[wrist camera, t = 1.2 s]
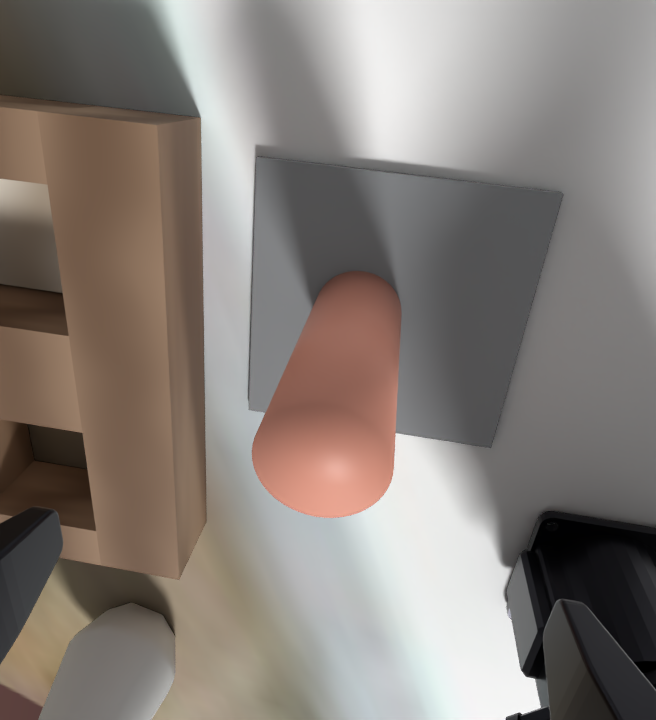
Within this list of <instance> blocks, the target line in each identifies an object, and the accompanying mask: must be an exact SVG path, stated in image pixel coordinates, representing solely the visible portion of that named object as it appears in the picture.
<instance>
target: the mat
mask: <svg viewBox="0 0 656 720" xmlns="http://www.w3.org/2000/svg"><path fill="white" fill-rule="evenodd" d="M562 197H563V193H561V192H555V191H546V190H538V189H529V188H521V187H513V186H504V185H496V184H487V183H479V182H470V181H462V180H454V179H445V178H437V177H428V176H420V175H411V174H403V173H395V172H386V171H378V170H369V169H361V168H352V167H344V166H336V165H327V164H319V163H310V162H302V161H294V160H285V159H277V158H268V157H260V156H258V157H256V184H255V218H254V251H253V284H252V317H251V350H250V383H249V410H252V411H259V412H265V413H266V411H267V409H268V406H269V404H270V402H271V400H272V397H273V395H274V393H275V391H276V388H277V386H278V384H279V382H280V379H281V377H282V375H283V373H284V371H285V368H286V366H287V364H288V362H289V359H290V357H291V355H292V353H293V350H294V348H295V346H296V344H297V341H298V339H299V337H300V335H301V332H302V330H303V328H304V326H305V323H306V321H307V319H308V317H309V314H310V312H311V310H312V308H313V306H314V303H315V301H316V299H317V297H318V294H319V292H320V291H321V289H322V288H323V286H324V285H325V284H326V283H327V282H328V281H329V280H330V279H332V278H334V277H335V276H337V275H339V274H342V273H345V272H350V271H364V272H369V273H372V274H375V275H377V276H379V277H381V278H382V279H384V280H385V281H386V282H388V283H389V284H390V285H391V286H392V288H393V289H394V290H395V292H396V294H397V296H398V298H399V300H400V304H401V312H402V315H401V334H400V354H399V373H398V392H397V412H396V431H395V433H399V434H405V435H412V436H418V437H424V438H431V439H437V440H444V441H450V442H456V443H463V444H469V445H475V446H482V447H488V448H491V446H492V442H493V439H494V435H495V432H496V428H497V425H498V421H499V418H500V414H501V411H502V407H503V404H504V400H505V397H506V393H507V390H508V386H509V383H510V379H511V376H512V372H513V369H514V365H515V362H516V358H517V355H518V351H519V348H520V344H521V341H522V337H523V334H524V330H525V327H526V323H527V320H528V316H529V313H530V309H531V306H532V302H533V299H534V295H535V292H536V288H537V285H538V281H539V278H540V274H541V271H542V267H543V264H544V260H545V257H546V253H547V250H548V246H549V243H550V239H551V236H552V232H553V229H554V225H555V222H556V218H557V215H558V211H559V208H560V204H561V201H562Z"/></svg>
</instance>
